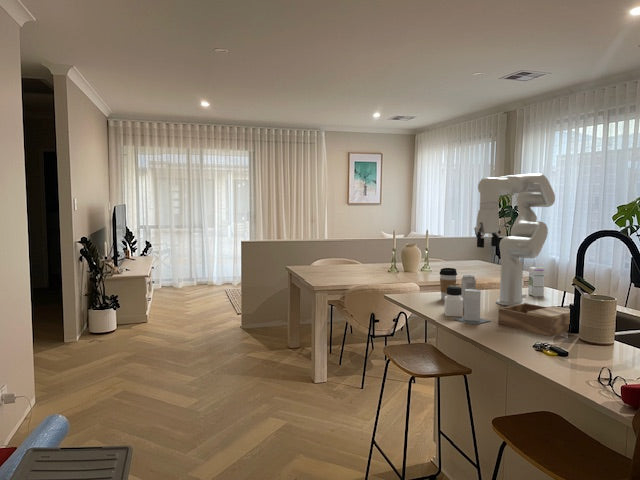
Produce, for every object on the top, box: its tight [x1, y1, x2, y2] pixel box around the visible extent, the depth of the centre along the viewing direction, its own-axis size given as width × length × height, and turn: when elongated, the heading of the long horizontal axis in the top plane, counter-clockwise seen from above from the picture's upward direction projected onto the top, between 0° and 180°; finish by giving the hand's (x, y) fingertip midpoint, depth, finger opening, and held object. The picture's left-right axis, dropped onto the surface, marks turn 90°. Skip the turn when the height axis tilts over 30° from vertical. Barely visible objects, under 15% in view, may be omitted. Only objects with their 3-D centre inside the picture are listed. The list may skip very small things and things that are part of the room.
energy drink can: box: [460, 274, 477, 311], centre depth 208 cm, size 6×6×15 cm
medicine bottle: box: [443, 285, 464, 318], centre depth 199 cm, size 7×7×12 cm
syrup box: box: [527, 266, 545, 298], centre depth 241 cm, size 6×6×14 cm
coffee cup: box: [439, 267, 458, 301], centre depth 230 cm, size 8×8×15 cm
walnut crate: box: [497, 302, 571, 337], centre depth 181 cm, size 18×21×7 cm
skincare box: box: [463, 289, 482, 321], centre depth 188 cm, size 6×4×12 cm
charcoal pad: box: [453, 316, 491, 326], centre depth 189 cm, size 10×10×1 cm
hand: (487, 246), depth 203 cm, fingers open, 9 cm apart
